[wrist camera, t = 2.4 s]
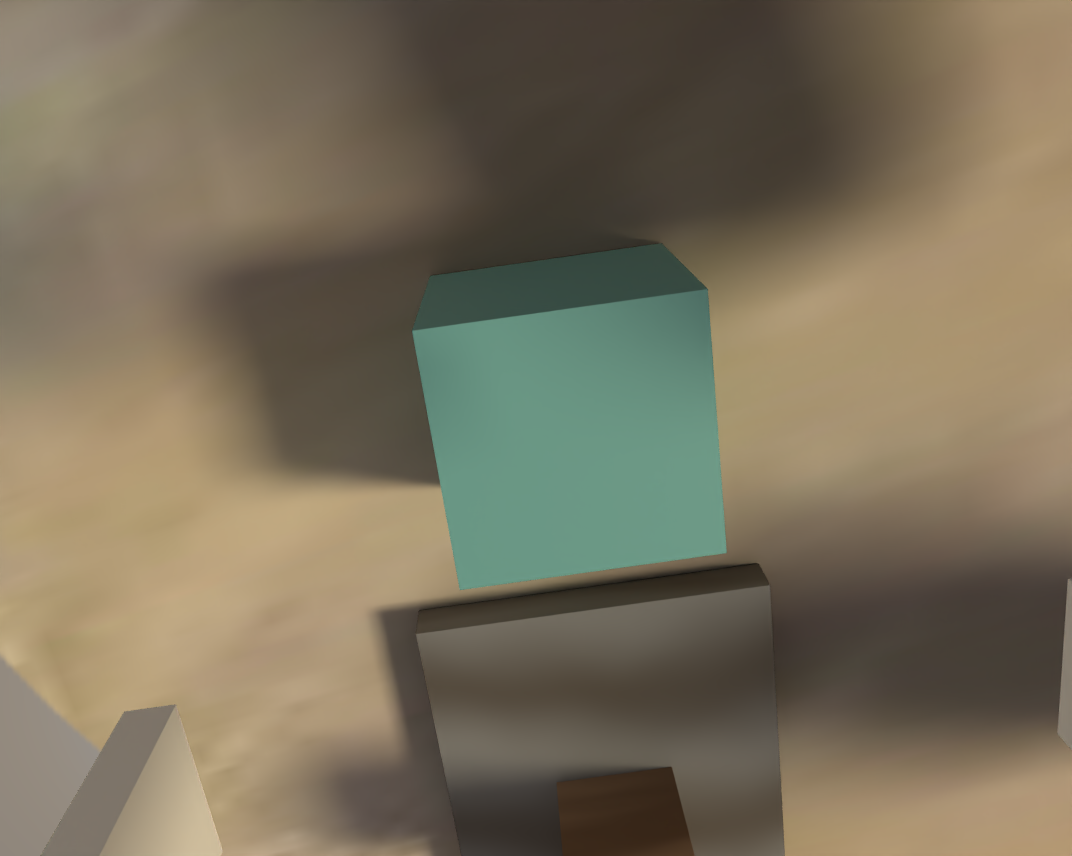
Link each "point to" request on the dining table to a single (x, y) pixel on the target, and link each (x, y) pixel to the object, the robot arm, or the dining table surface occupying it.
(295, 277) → the dining table surface
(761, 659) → the grey base with post
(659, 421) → the mint green cube
